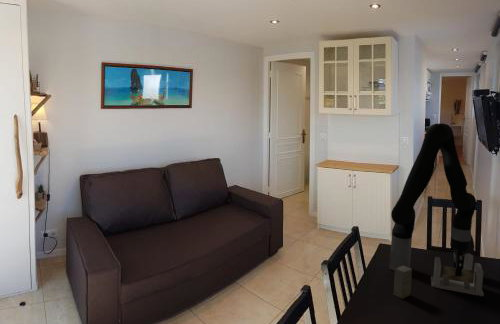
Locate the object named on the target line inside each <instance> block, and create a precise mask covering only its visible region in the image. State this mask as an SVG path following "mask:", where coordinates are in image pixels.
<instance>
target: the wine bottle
mask: <svg viewBox="0 0 500 324" xmlns="http://www.w3.org/2000/svg"><path fill="white" fill-rule="evenodd" d="M464 254H465V258H464V266H463V267H464V268H463V269H466V270H472V271H473V264H474V255H475V242H474V238H473V236H472V234H471V241H470V249H469V250H467V251H464ZM459 266H461V264H460V265H459Z"/></svg>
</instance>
